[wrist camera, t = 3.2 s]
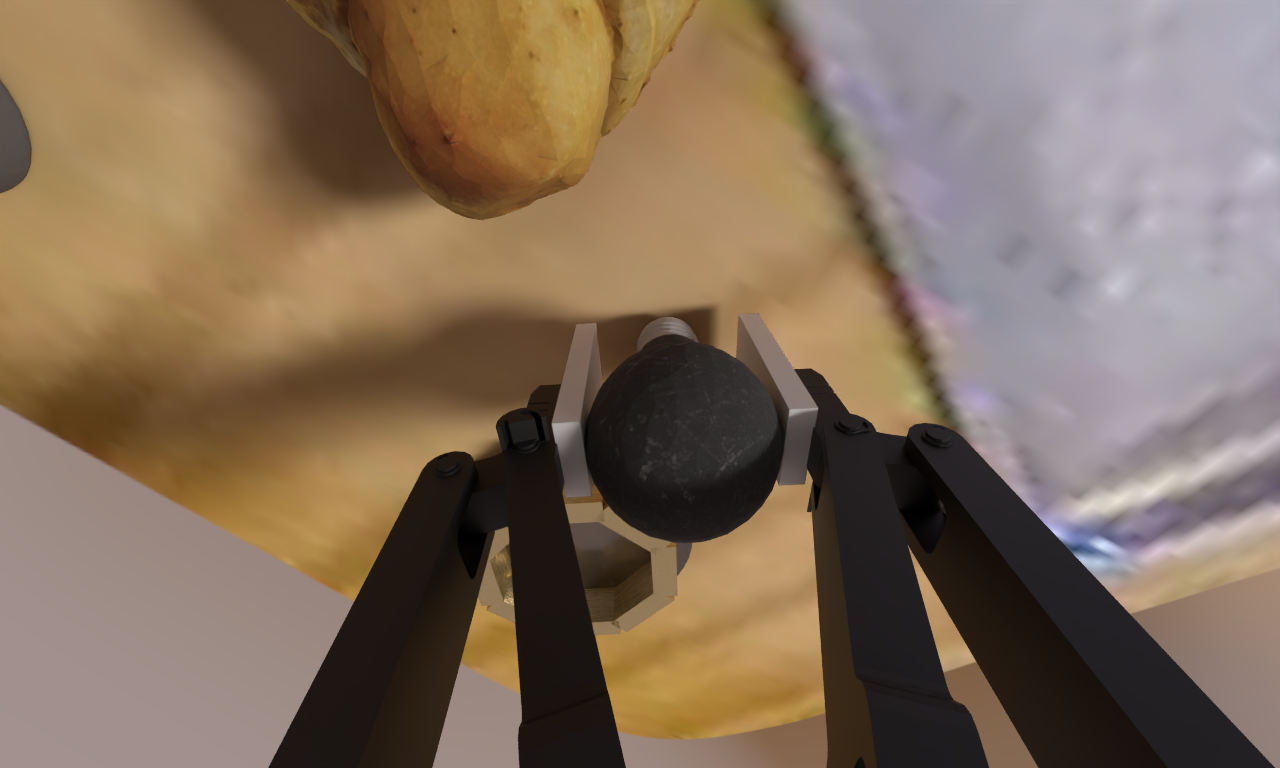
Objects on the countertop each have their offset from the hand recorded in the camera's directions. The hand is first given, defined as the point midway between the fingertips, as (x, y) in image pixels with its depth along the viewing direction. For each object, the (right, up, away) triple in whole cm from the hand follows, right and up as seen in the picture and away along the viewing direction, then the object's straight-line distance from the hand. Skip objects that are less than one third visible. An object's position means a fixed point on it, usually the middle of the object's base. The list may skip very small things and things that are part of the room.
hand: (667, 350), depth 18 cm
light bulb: (0, +1, +1) cm, 2 cm away
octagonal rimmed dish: (-4, -9, +7) cm, 12 cm away
